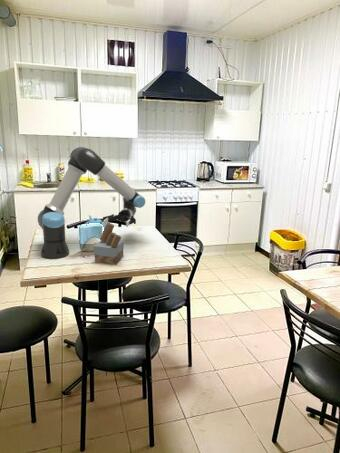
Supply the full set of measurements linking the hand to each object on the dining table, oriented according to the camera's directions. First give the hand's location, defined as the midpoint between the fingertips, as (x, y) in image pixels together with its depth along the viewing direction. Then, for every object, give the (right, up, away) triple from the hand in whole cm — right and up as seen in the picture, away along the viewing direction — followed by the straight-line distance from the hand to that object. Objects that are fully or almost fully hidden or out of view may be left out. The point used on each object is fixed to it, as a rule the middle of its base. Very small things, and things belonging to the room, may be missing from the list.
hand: (115, 223), depth 197 cm
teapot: (-20, -6, +44) cm, 48 cm away
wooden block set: (-2, -11, -8) cm, 13 cm away
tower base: (-2, -20, -5) cm, 21 cm away
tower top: (-2, -16, -7) cm, 17 cm away
